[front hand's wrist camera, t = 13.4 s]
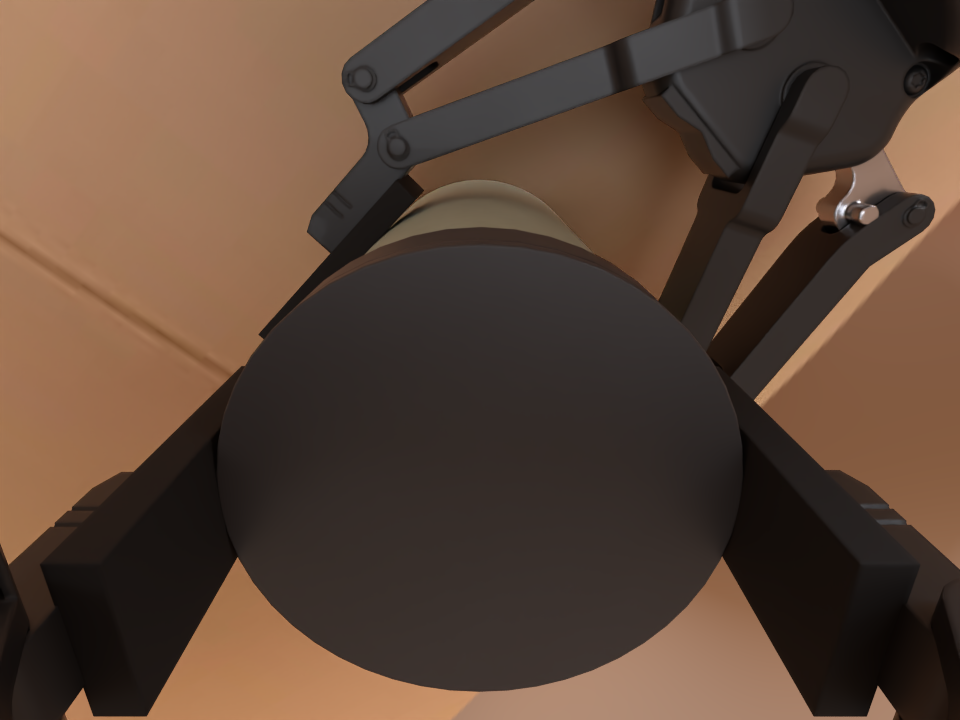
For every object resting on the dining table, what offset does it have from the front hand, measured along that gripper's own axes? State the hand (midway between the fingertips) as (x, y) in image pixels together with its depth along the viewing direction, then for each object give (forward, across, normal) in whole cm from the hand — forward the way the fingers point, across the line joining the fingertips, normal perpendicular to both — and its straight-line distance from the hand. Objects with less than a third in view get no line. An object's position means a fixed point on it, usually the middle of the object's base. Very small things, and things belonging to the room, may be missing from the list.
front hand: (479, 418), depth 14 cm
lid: (-3, 0, 0) cm, 3 cm away
